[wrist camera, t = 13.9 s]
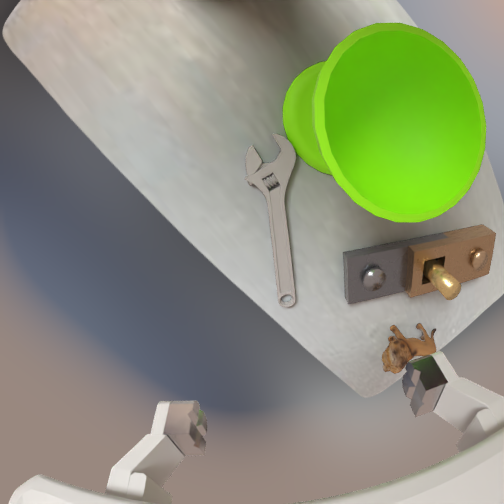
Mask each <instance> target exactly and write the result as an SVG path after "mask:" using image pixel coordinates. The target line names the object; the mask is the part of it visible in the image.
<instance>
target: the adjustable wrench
mask: <svg viewBox="0 0 504 504" xmlns="http://www.w3.org/2000/svg"><path fill="white" fill-rule="evenodd" d="M272 135H273V137H274V139H275V140H276V142H277V144H278V145H279V147H280V149H281V151H280V153H279V154H278V156H277V158H276V159H275V160H274V161H272V162H270V163H262V160H261V158H260V156H259V155H258V153H257V152H256V150H255V148H254V147H253V145H252V146H250V147H249V149H248V151H247V155H246V171H247V175H248V176H246V177H245V180H246V181H248V183H249V185H250V186H251V185H252V184H254V185H256V186H257V187H258V188H259V189H260V190H261V191H262V193H263V194H264V195H265V198H266V200H267V204H268V212H269V221H270V230H271V239H272V248H273V257H274V266H275V276H276V285H277V295H278V302H279V304H280V305H281V306H282V307H290V306H292V305H293V304H294V303H295V289H294V280H293V271H292V262H291V253H290V244H289V236H288V228H287V220H286V212H285V204H284V196H285V191H286V187H287V183H288V180H289V177H290V175H291V172H292V170H293V167H294V165H295V160H296V154H295V150H294V148H293V146H292V144H291V143H290V142H289V141H288V140H287V139H286V138H285V137H283V136H281V135H279V134H272ZM270 175H271V176H270ZM267 176H269V177H267ZM277 182H279V185H277V184H276V183H277ZM274 184H275V185H276V186H275V187H274ZM271 186H273V187H274V188H272V189H270V190H269V189H268V187H270V188H271ZM286 294H289V295H291V296H292V299H291V300H290V301H287V302H284V301H282V300H281V297H282V296H283V295H286Z"/></svg>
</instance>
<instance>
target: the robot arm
mask: <svg viewBox="0 0 504 504" xmlns="http://www.w3.org/2000/svg"><path fill="white" fill-rule="evenodd" d="M405 369H406V371H407V372H406V373H405V374H404V375H403V380H402V383H403V389H404V392H405V395H406V397H408V398H410V399H412V400H411V403H410V406H411V408H412V411H413V413H414V415H415V417H417V416H420V415H423V414H426V413H428V412H431V411H433V412H435V413H436V414H437V415H439V416H440V417H442V418H443V419H444V420H446V421H447V422H449V423H450V424H451V425H453V426H454V427H456V428H457V429H459V430H460V431H461V432H463V435H462V436H461V437H460V439H459V440H458V442H457V444H456V446H457V448H458V450H459V453H458V454H456V455H454V456H452V457H450V458H447V459H445V460H443V461H441V462H439V463H436V464H434V465H432V466H429V467H427V468H425V469H422V470H420V471H417V472H415V473H412V474H410V475H407V476H404V477H401V478H398V479H395V480H392V481H389V482H386V483H383V484H380V485H377V486H373V487H369V488H366V489H362V490H358V491H355V492H351V493H347V494H342V495H337V496H333V497H328V498H323V499H317V500H311V501H305V502H298V503H291V504H504V397H503V396H500V395H499V394H496V393H494V392H492V391H490V390H488V389H486V388H484V387H482V386H480V385H478V384H476V383H474V382H472V381H470V380H467V379H465V378H463V377H461V378H459V377H458V375H457V373H456V372H455V370H454V369H453V367H452V366H451V365H450V363H449V361H448V360H447V358H446V357H445V355H444V354H443V352H441V351H438V352H435V353H433V354H430V355H426V356H423V357H420V358H418V359H415V360H412V361H409V362H408V363H407V364H406V367H405ZM199 407H200V405H199V403H198V402H197V401H160V402H159V404H158V405H157V409H156V413H155V417H154V421H153V426H152V430H151V434H147V435H146V436H145V437H144V438H143V439H142V440H141V441H140V442H139V443H138V444H137V445H136V446H134V448H133V449H131V450H130V451H129V452H128V453H127V454H126V455H125V456H124V457H123V458H122V459H121V460H120V461H119V462H118V463H117V464H116V465H114V466H113V467H112V469H111V473H110V477H109V481H108V485H107V489H106V492H105V494H103V493H99V492H95V491H92V490H88V489H84V488H81V487H77V486H74V485H71V484H67V483H65V482H61V481H59V480H56V479H53V478H50V477H47V476H45V475H36V476H34V477H33V478H31V479H29V480H28V481H26V482H25V483H24V484H22V485H21V486H19V487H18V488H17V489H16V490H15V491H14V493H13V495H12V497H11V499H10V501H9V503H8V504H172V495H171V494H170V493H168V492H167V491H166V490H164V489H163V488H162V486H163V485H164V483H165V482H166V481H167V480H168V478H169V477H170V476H171V475H172V473H173V472H174V471H175V469H176V468H177V467H178V465H179V464H180V463H181V461H182V460H183V459H184V457H185V456H199V455H205V447H206V441H205V439H204V438H203V436H204V435H205V434H206V433H207V419H206V416H205V414H204V412H203V411H201V410H199Z"/></svg>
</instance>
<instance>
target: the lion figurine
mask: <svg viewBox="0 0 504 504" xmlns="http://www.w3.org/2000/svg"><path fill="white" fill-rule="evenodd" d="M416 328H417V329H420V330H421V331H422V333H423V335H422V336H421V339H422V340H424V341H421V340H419V339H416V338H408V339H406V338H405V337H404V336H403V335H402V334H401V333H400V331H399V330H398V328H397V327H396V326H395V325H392V326H391V327H390V330H391V331H393V332H394V333H395V335H396V337H397V338H396V337H395V336H390V337H389V338H388V340H389V341H390V343H389V346H388V348H387V349H386V350H385V351H384V352H383V354H382V361H383V364H384V365H383V369H384V371H385V372H387V371H391V372H393V373H394V374H395V373H399V372H400V371H401V370H402V369H403V368H404V367H405V365H406V364H407V362H408V361H409V360H411V359H412V358H413V357H414V356H426V355H430V354H433V353H435V352H436V346H435V343H434V339H433V335H434V333H435V331H436V329H433V330H432V333H431V338H430V337H429V336H428V335H427V332H426V330H425V329H424V328H423V326H422V325H421V324H420V323H419V324H417V326H416Z"/></svg>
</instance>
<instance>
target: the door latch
mask: <svg viewBox="0 0 504 504" xmlns="http://www.w3.org/2000/svg"><path fill="white" fill-rule="evenodd" d="M495 236H496V233H495V232H493V231H492V230H490V229H489V228H487V227H486V226H484V225H478V226H473V227H468V228H463V229H459V230H454V231H449V232H444V233H439V234H434V235H429V236H424V237H420V238H415V239H410V240H405V241H399V242H394V243H389V244H384V245H379V246H374V247H369V248H364V249H358V250H353V251H348V252H343V259H344V282H345V298H346V300H347V302H348V304H351V303H356V302H361V301H365V300H369V299H374V298H378V297H382V296H386V295H390V294H395V293H399V292H403V291H406V293H407V294H408V295H409V297H410V298H411V297H414V296H418V295H422V294H425V293H429V292H432V291H436V290H438V289H437V288H436V287H435V286H434V285H433V284H432V283H431V282H430V280H429V279H428V278H427V277H426V276H425V275H424V274H423V268H424V261H427V260H431V259H435V260H436V261H437V262H438V263H439V264H440V265H442V266H443V267H444V268H445V269H446V270H447V271H448V272H449V273H450V274H451V275H452V276H453V277H454V278H455V279H456V280H457V281H458V282H459V283H462V282H466V281H469V280H472V279H475V278H478V277H481V276H484V275H487V274H489V270H490V265H491V260H492V254H493V248H494V242H495Z"/></svg>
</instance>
